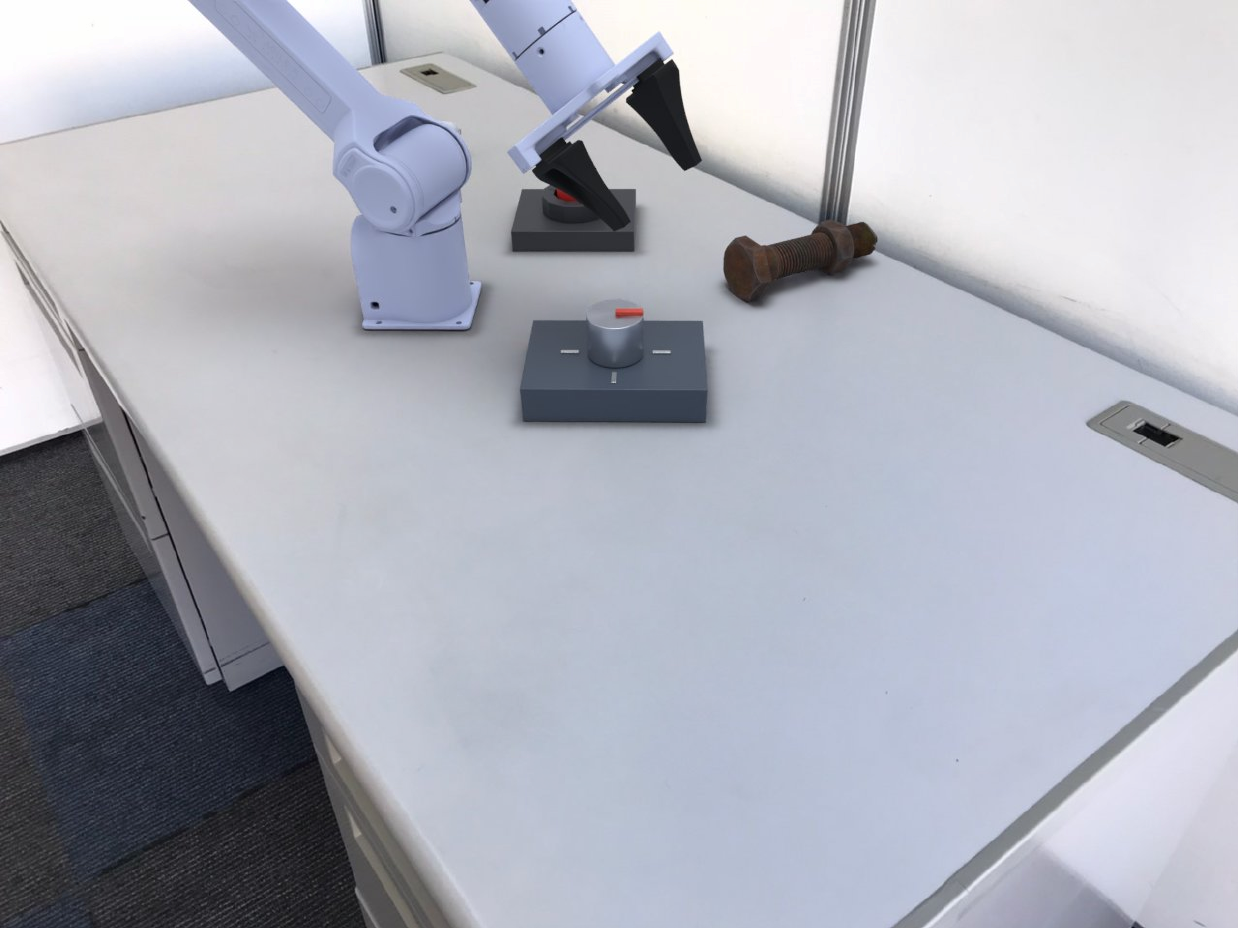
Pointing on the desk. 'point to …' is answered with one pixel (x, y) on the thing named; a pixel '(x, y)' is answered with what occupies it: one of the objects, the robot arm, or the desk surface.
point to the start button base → (569, 224)
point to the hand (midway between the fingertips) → (658, 196)
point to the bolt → (794, 256)
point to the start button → (564, 196)
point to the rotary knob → (615, 333)
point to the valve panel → (615, 376)
